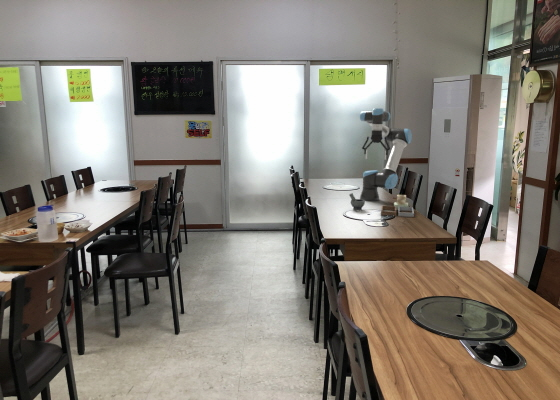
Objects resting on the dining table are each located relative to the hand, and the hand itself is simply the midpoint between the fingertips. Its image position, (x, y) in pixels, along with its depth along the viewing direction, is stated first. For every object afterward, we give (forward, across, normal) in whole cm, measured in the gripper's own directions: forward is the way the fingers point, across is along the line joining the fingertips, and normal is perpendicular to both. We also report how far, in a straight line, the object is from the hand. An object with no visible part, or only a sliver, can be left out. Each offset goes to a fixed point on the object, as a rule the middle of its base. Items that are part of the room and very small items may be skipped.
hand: (375, 159), depth 333 cm
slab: (+35, +20, -6) cm, 40 cm away
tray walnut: (+35, +11, -22) cm, 43 cm away
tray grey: (+35, +23, -22) cm, 47 cm away
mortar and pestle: (+35, -11, -20) cm, 42 cm away
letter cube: (+31, +20, -6) cm, 38 cm away
